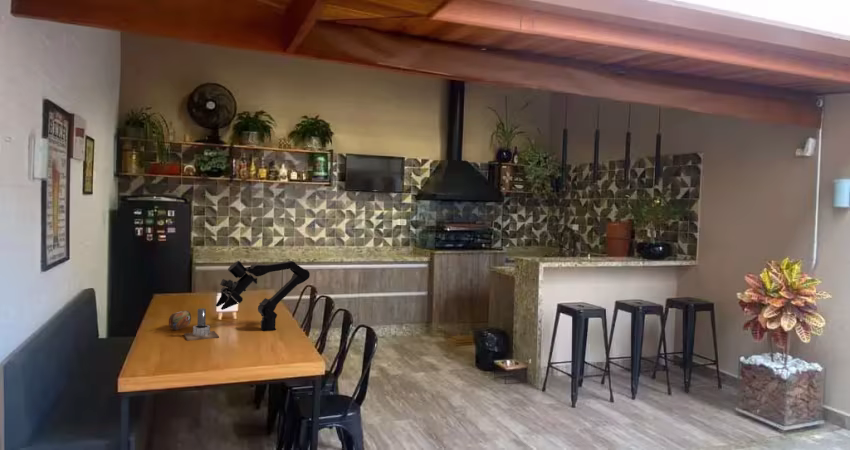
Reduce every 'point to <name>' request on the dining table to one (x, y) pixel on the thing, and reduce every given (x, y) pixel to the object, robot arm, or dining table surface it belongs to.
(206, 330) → the ring
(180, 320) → the tin
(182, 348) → the dining table surface
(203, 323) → the rail post
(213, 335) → the bracket plate
